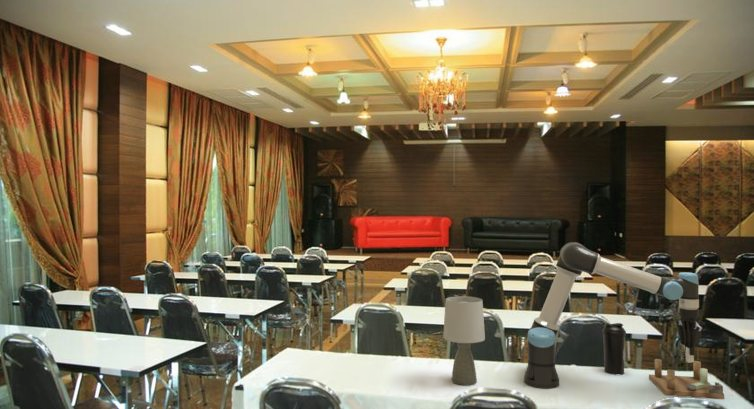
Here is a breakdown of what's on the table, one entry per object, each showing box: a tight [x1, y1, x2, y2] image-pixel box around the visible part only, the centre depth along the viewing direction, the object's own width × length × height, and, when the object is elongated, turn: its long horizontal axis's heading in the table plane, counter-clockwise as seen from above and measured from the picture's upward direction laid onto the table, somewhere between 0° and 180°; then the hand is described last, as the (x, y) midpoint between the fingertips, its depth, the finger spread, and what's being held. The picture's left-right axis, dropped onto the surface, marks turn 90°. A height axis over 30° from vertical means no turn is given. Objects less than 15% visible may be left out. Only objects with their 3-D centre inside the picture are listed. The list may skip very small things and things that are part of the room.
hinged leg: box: [687, 367, 709, 391], centre depth 224 cm, size 11×3×7 cm, turn 116°
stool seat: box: [648, 358, 725, 400], centre depth 230 cm, size 22×22×10 cm
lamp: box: [442, 296, 486, 386], centre depth 240 cm, size 19×19×37 cm
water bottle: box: [601, 322, 627, 376], centre depth 254 cm, size 10×10×23 cm
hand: (689, 361), depth 233 cm, fingers closed
